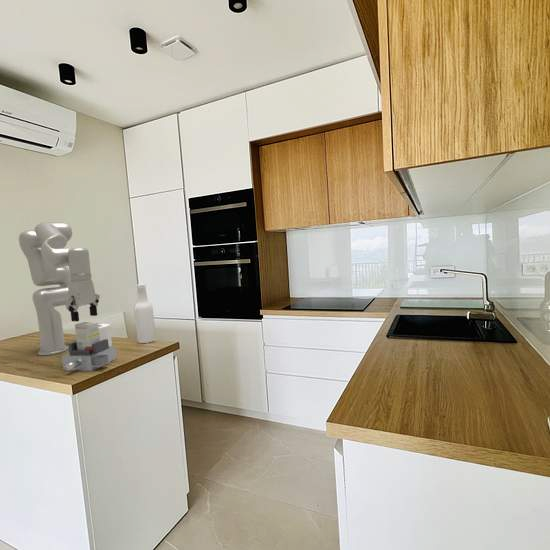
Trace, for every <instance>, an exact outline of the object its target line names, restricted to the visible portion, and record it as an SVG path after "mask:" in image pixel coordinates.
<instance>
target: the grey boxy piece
mask: <svg viewBox="0 0 550 550" xmlns="http://www.w3.org/2000/svg"><path fill="white" fill-rule="evenodd" d="M92 345H93V352H92V350H77V341H76V340H75V341H73V342H70V343H68V345H67V346H69V349H68V353H66V354H62V355H61V360H62V361H61V362H62V369H63V371H67V372H68V371H74V372H75V371H76V372H77V370H78V372H94V371H96V370H97V369H100V368H101V367H103V366H105V364H106V365H107V364H109V363H112V362H113V360H114V361H115V359H116V360H117V359H118V358H117V352H116V350H117V348H116V345H112V346H109V344H108V339H104V340H101V341H99V342H96V343H94V344H92ZM111 361H112V362H111Z"/></svg>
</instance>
